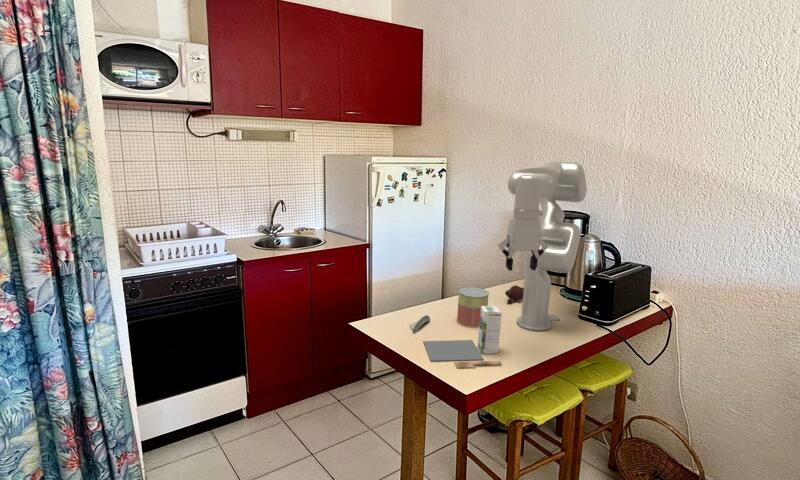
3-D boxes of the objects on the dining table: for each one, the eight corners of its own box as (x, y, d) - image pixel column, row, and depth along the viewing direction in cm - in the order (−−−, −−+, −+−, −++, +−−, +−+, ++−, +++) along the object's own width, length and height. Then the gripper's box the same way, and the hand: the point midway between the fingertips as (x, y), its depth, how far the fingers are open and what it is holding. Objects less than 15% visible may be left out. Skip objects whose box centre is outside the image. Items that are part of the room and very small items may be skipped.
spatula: (498, 362, 142) (498, 359, 142) (502, 367, 139) (502, 364, 139) (454, 363, 141) (454, 360, 141) (456, 369, 137) (457, 366, 137)
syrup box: (477, 346, 153) (479, 305, 150) (494, 346, 153) (497, 305, 150) (481, 354, 147) (484, 312, 144) (499, 353, 148) (502, 312, 145)
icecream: (517, 280, 205) (497, 290, 196) (531, 280, 200) (512, 290, 190) (520, 295, 206) (501, 305, 196) (534, 295, 200) (515, 306, 191)
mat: (472, 341, 157) (472, 339, 157) (483, 360, 143) (483, 359, 143) (423, 342, 155) (423, 341, 155) (430, 361, 141) (430, 360, 141)
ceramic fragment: (414, 334, 161) (415, 324, 160) (402, 331, 164) (402, 321, 163) (431, 322, 173) (432, 313, 172) (419, 319, 176) (420, 310, 175)
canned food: (475, 314, 181) (477, 285, 178) (492, 324, 171) (495, 294, 169) (451, 318, 176) (452, 289, 173) (467, 329, 166) (470, 298, 164)
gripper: (547, 213, 146) (542, 266, 150) (495, 212, 144) (491, 266, 148) (557, 217, 139) (552, 272, 143) (502, 216, 137) (498, 273, 141)
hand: (521, 269), depth 145 cm, fingers open, 7 cm apart
